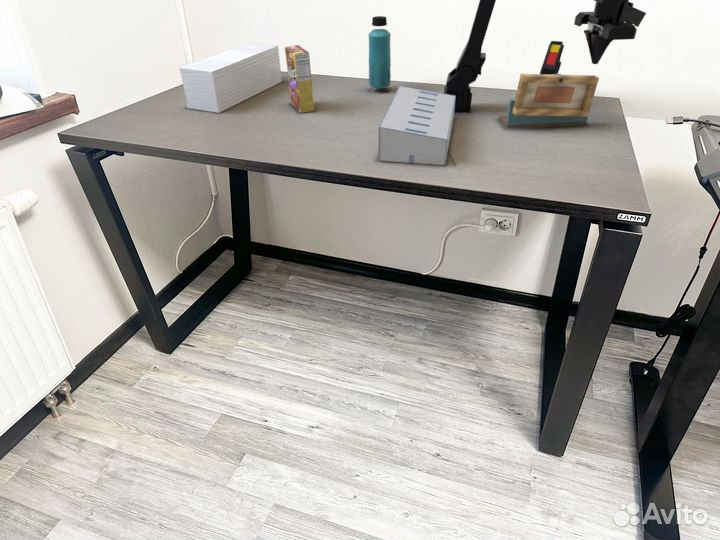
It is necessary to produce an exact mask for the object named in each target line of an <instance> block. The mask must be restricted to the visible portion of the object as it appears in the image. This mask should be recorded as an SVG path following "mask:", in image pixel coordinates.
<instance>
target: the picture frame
mask: <svg viewBox="0 0 720 540" xmlns="http://www.w3.org/2000/svg"><path fill="white" fill-rule="evenodd" d="M599 80H600V78H599V77H598V75H597V76H596V75H592V74H591V75H589V74H587V75H585V74H583V75H582V74H579V75H578V74H561V75H551V74H540V73H520V74H519V80H518V85H517V89H516V94H515V98H514V99H515V102H514V107H513V111H512V113H513V114H514V115H524V116H584V117H588V118H589V115H590V111H589V110H591V107H592V104H593V100H594V97H595V94H596V90H597V87H598V84H599ZM588 114H589V115H588Z"/></svg>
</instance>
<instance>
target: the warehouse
mask: <svg viewBox="0 0 720 540" xmlns="http://www.w3.org/2000/svg"><path fill="white" fill-rule="evenodd" d="M455 100H456V96H454V95H448V94H444V92H443V93H442V92H437V91H433V90H432V91H431V90H426V89H420V88H414V87H408V86H404V85H399V86H398V88H397V90H396V92H395V93H394V96H393V98H392V99H391V102H390V103H389V106H388V107H387V110H386V112H385V113H384V116H383V118H382V120H381V121H380V124H379V126H378V162H393V163H394V162H395V163H406V164H407V163H409V164H410V163H411V164H423V165H437V166H446V162H447V157H448V152H449V151H448V150H449V145H450V140H451V133H452V129H453V123H454V117H455V113H454V111H455Z"/></svg>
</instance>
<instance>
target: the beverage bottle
mask: <svg viewBox="0 0 720 540" xmlns="http://www.w3.org/2000/svg"><path fill="white" fill-rule="evenodd" d="M371 20H372V21H371V26H373V27H385V26H387V25H388V22H387V20H388V19H387V16H383V15H377V16H373V17H372V19H371ZM367 36H368V56H367V57H368V61H367V62H368V85H369V86H370V88H375V89H386V88H388V87H390V86H391V79H392V78H391V67H392V66H391V60H392V57H391V56H392V55H391V33H390V31H389V30H388V29H386V28H374V29H372V30H371V31H370V32H369V33H368V35H367Z"/></svg>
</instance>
